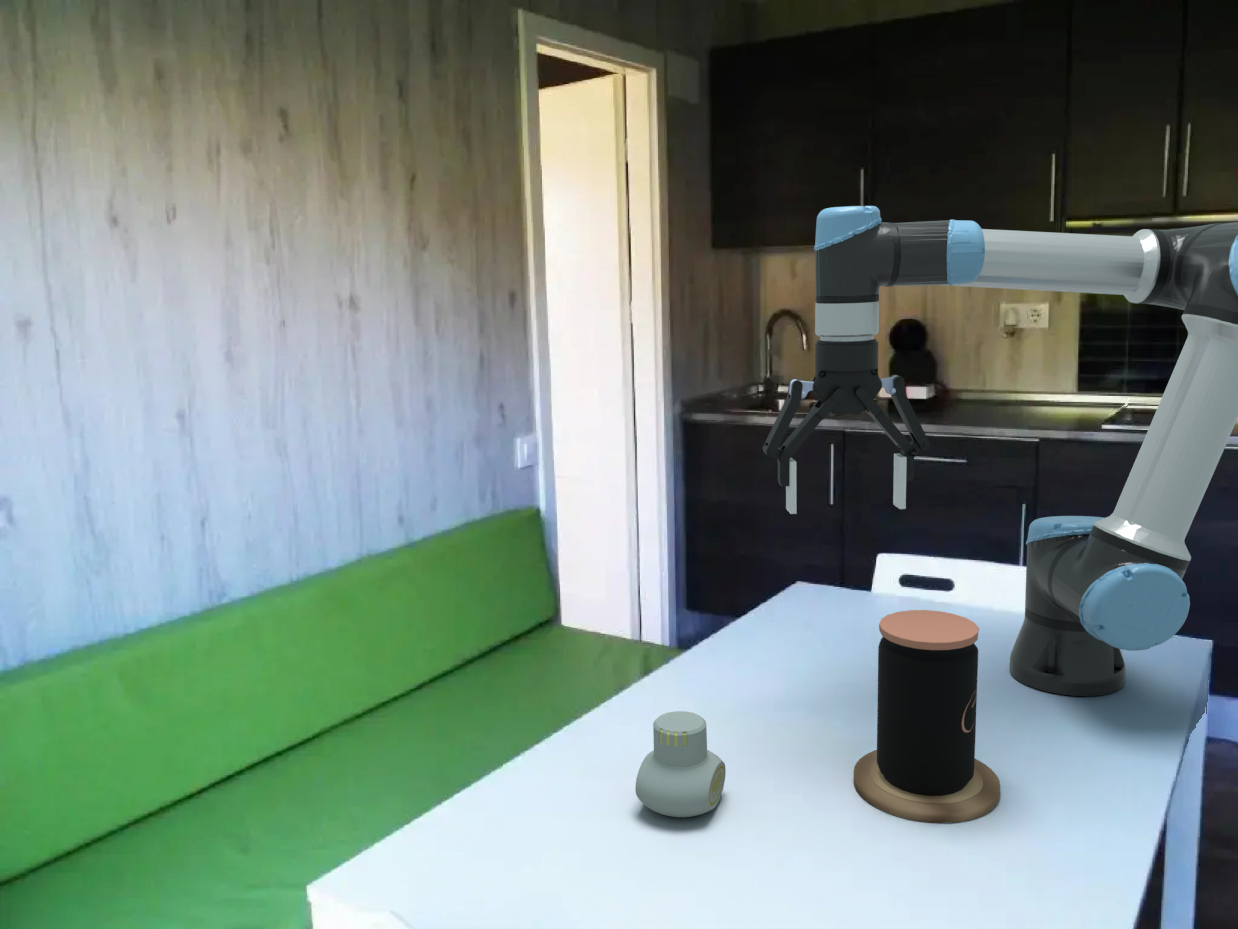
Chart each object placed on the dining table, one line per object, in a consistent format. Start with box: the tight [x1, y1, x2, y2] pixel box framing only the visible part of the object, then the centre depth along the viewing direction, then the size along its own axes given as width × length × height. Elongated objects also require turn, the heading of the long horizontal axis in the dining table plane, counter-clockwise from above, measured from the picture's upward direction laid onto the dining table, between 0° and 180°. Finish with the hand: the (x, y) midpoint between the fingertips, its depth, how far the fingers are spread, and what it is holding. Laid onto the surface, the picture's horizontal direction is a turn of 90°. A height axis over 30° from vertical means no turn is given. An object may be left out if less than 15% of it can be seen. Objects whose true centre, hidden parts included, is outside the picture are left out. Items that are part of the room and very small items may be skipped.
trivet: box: [853, 749, 1001, 824], centre depth 120 cm, size 16×16×1 cm
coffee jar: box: [876, 609, 980, 796], centre depth 118 cm, size 11×11×18 cm
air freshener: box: [635, 710, 726, 818], centre depth 117 cm, size 11×8×10 cm
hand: (845, 509), depth 131 cm, fingers open, 13 cm apart
